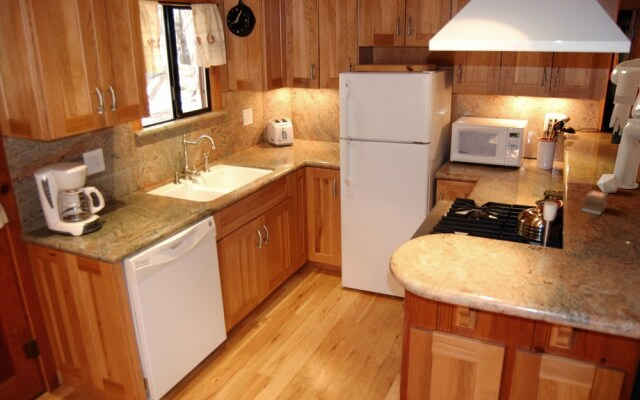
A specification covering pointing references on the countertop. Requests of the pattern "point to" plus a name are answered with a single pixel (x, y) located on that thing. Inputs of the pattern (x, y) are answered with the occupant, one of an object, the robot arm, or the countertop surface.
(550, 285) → the countertop surface
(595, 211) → the mat
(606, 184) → the die
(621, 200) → the countertop surface
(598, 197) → the block
